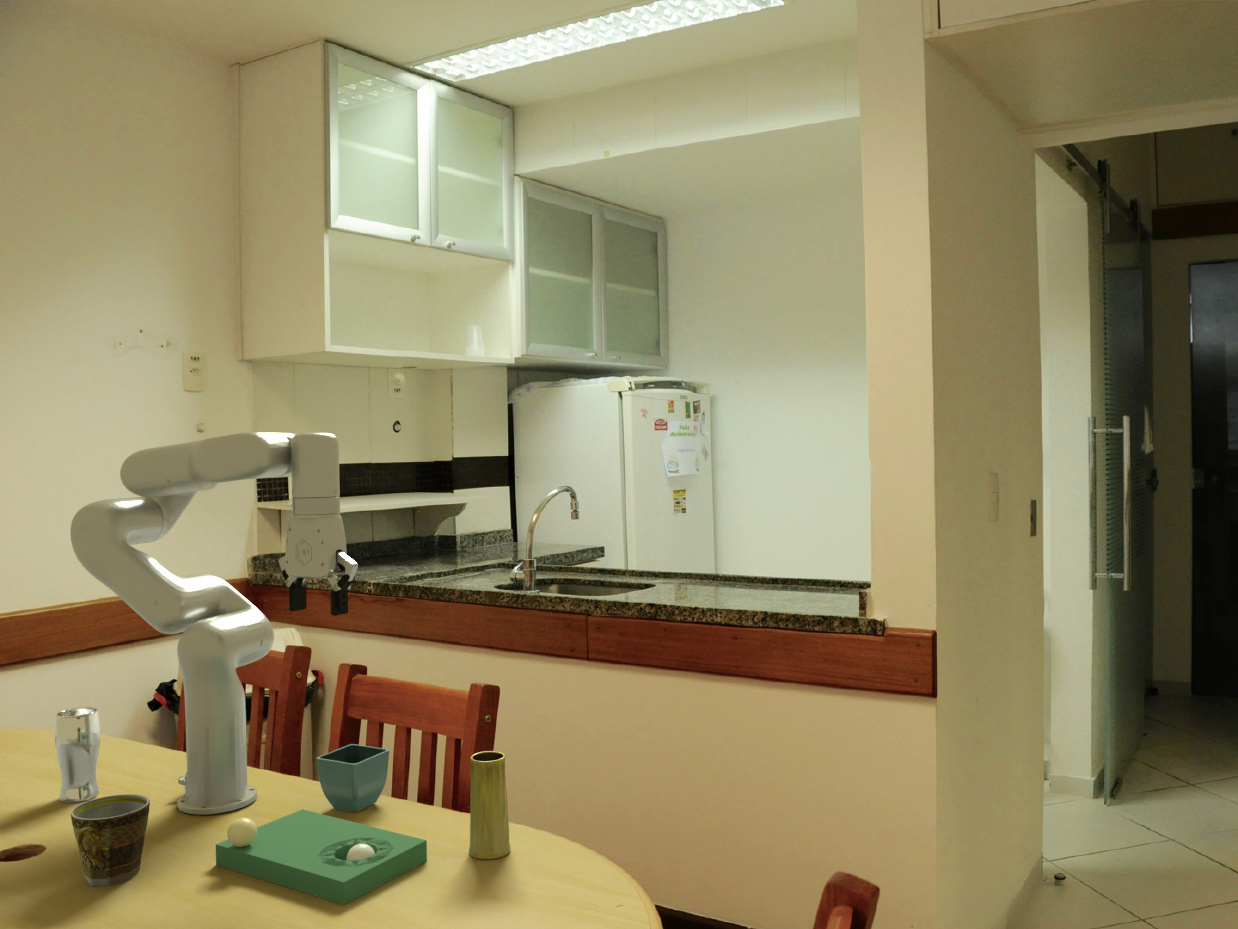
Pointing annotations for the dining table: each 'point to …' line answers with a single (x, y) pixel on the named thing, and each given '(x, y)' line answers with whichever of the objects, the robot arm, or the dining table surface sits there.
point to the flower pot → (353, 776)
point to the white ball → (359, 852)
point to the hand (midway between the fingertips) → (318, 612)
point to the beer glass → (78, 752)
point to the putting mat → (323, 855)
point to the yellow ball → (242, 832)
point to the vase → (488, 806)
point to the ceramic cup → (111, 837)
